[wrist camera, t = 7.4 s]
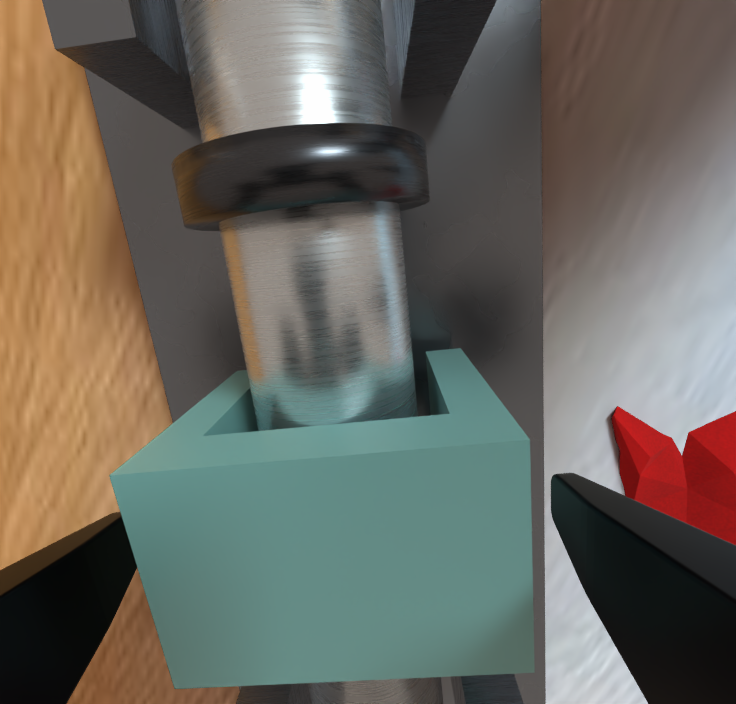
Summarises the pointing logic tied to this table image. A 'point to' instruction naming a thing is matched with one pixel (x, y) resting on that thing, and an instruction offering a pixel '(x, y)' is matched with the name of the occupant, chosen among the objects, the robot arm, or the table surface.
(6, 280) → the table surface
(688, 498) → the cloth
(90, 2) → the bearing stand
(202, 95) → the shaft
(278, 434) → the bracket
